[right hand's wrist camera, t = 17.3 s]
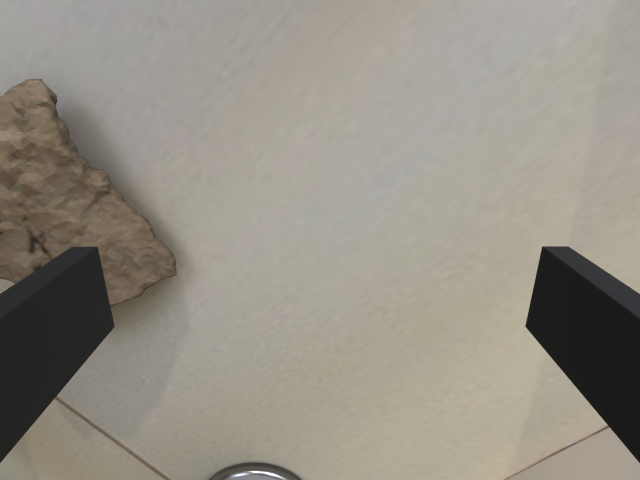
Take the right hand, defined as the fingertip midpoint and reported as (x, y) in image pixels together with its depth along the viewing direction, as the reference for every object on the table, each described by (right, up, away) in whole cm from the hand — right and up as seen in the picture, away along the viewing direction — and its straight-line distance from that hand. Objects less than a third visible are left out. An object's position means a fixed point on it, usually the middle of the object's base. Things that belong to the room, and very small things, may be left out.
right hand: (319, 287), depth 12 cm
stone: (-24, +4, +29) cm, 38 cm away
